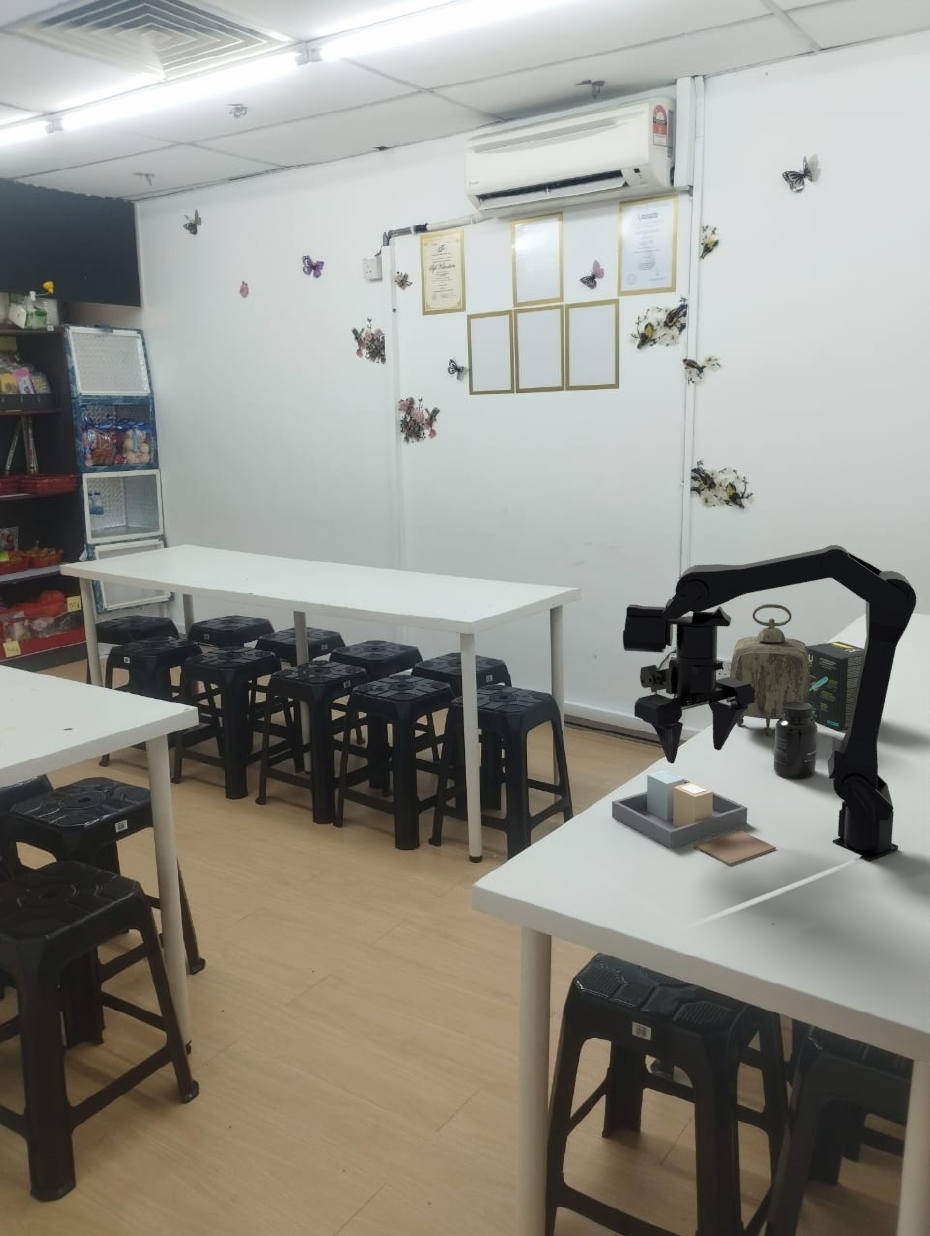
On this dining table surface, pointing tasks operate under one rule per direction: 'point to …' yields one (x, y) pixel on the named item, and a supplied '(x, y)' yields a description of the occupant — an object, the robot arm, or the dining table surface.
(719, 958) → the dining table surface
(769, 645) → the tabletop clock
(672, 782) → the carton blue
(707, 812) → the carton tan
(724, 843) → the board
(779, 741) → the supplement bottle
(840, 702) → the tampon box
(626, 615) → the robot arm
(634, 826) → the bin
